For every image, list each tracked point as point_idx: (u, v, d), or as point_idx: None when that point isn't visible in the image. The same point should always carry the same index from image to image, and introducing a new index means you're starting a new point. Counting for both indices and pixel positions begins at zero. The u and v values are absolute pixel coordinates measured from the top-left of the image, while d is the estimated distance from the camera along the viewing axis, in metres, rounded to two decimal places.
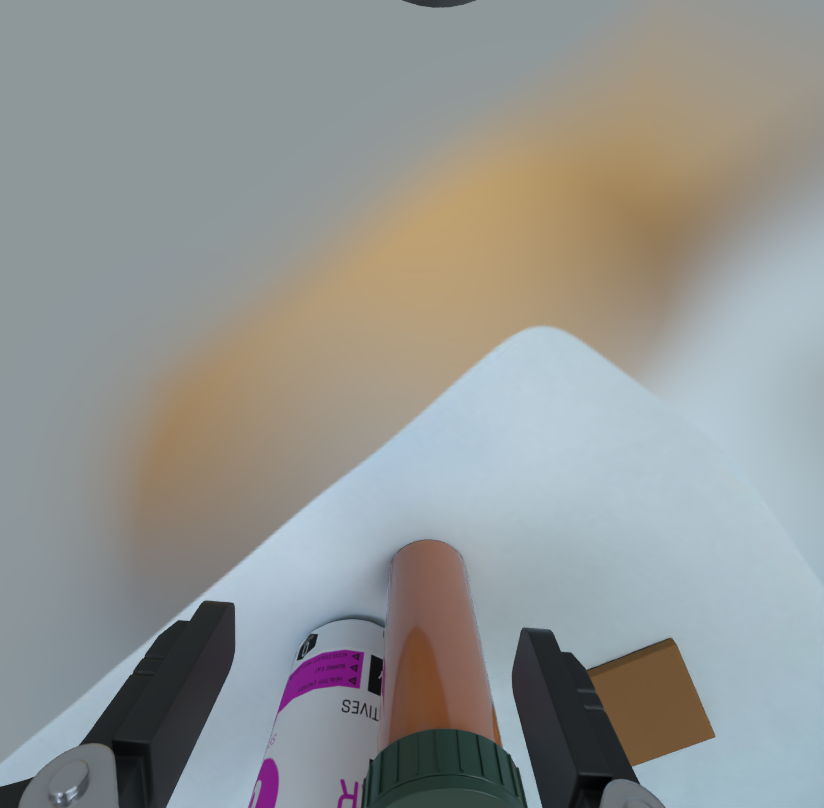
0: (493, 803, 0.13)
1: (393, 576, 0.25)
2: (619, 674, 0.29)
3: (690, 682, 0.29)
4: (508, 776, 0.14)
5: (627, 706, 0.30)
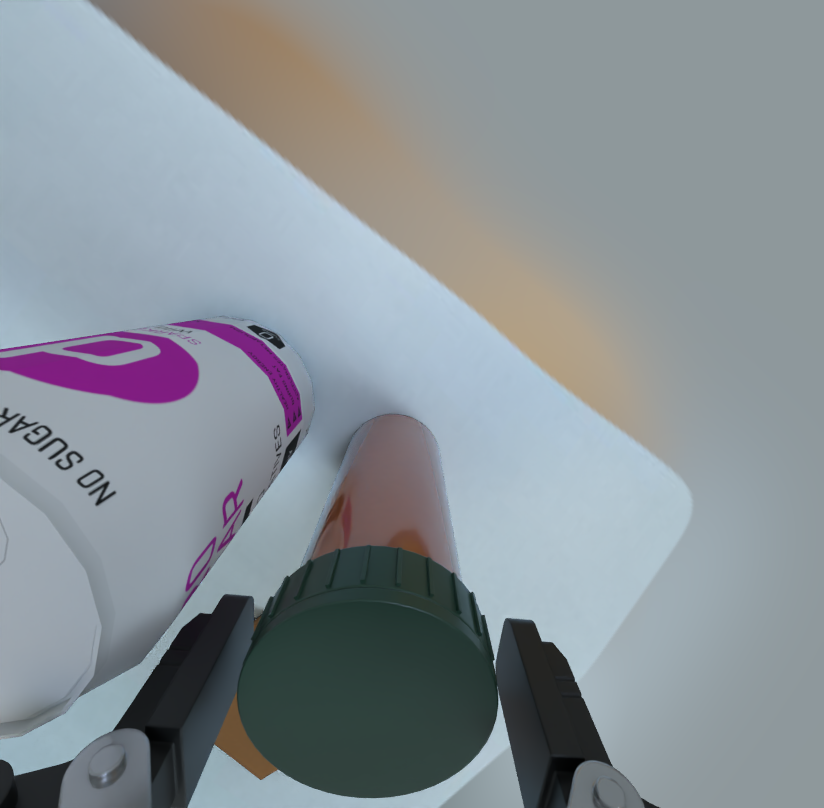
0: (476, 740, 0.10)
1: (409, 428, 0.20)
2: None
3: None
4: None
5: None
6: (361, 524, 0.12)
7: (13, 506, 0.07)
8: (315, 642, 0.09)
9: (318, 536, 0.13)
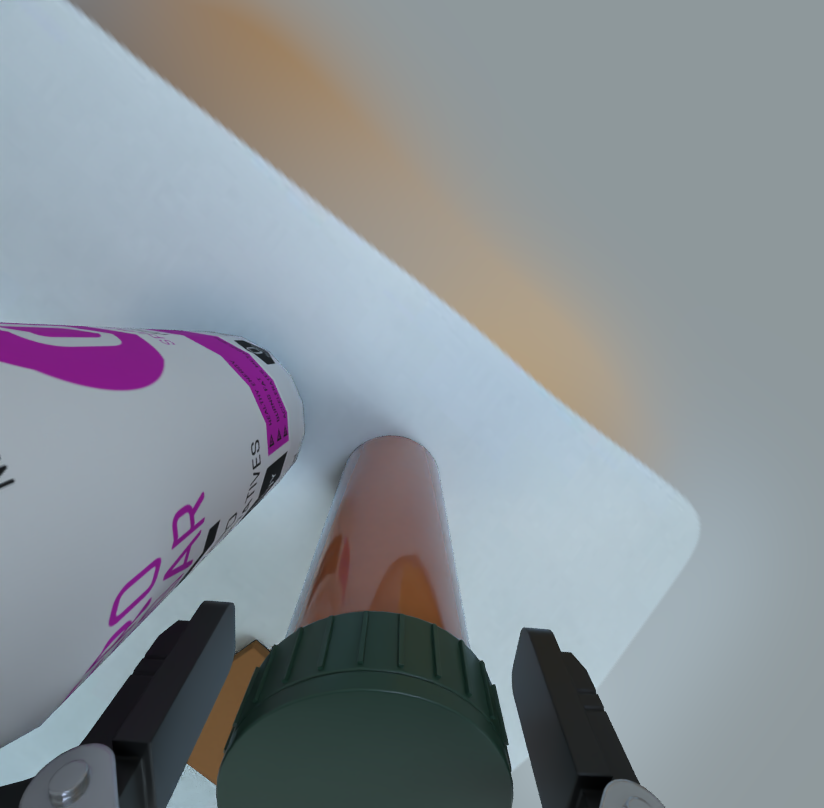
0: (416, 708, 0.07)
1: (407, 453, 0.19)
2: None
3: None
4: (456, 669, 0.09)
5: None
6: (358, 575, 0.11)
7: None
8: None
9: (311, 585, 0.12)
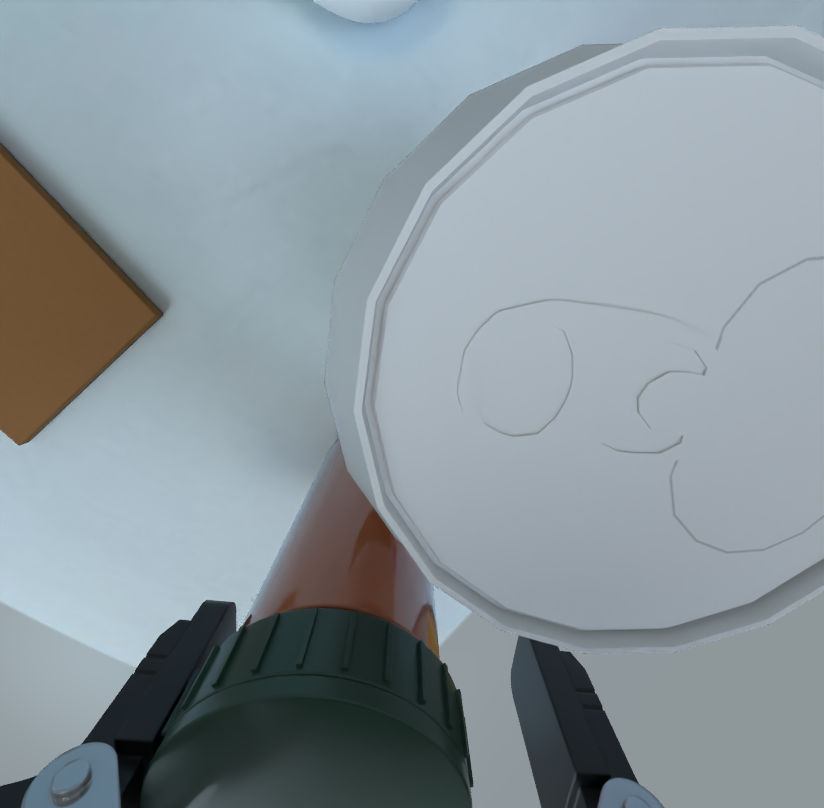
0: (359, 717, 0.07)
1: None
2: (65, 379, 0.19)
3: None
4: (411, 672, 0.08)
5: (15, 318, 0.18)
6: (434, 624, 0.11)
7: (771, 569, 0.05)
8: None
9: (399, 569, 0.11)
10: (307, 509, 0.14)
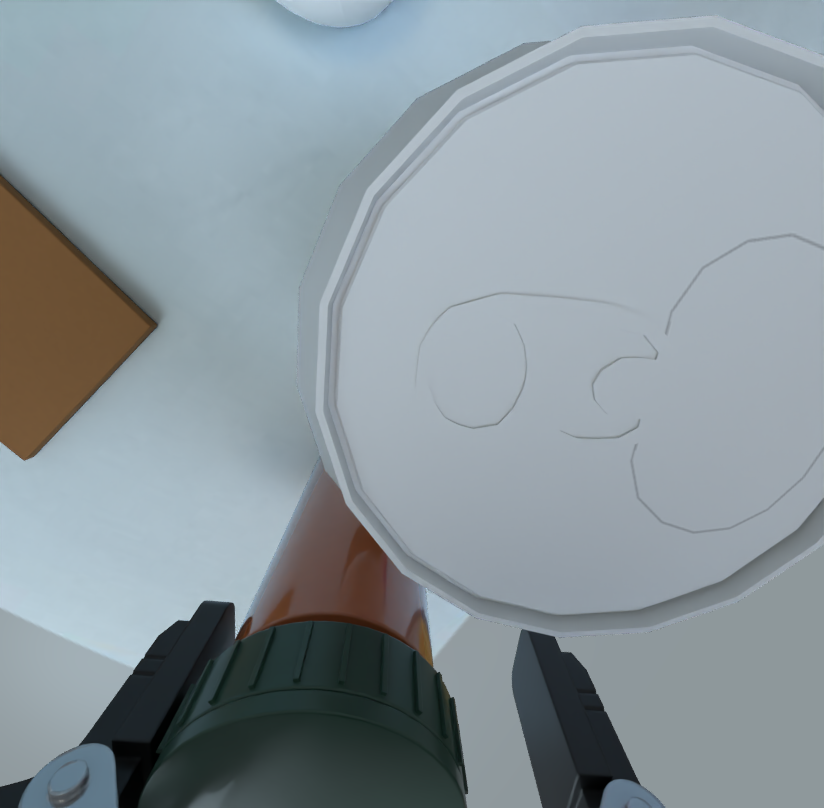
0: (153, 802, 0.07)
1: None
2: (66, 393, 0.19)
3: None
4: (194, 703, 0.08)
5: (14, 336, 0.19)
6: (424, 621, 0.11)
7: (738, 547, 0.05)
8: None
9: (384, 570, 0.11)
10: (294, 521, 0.14)
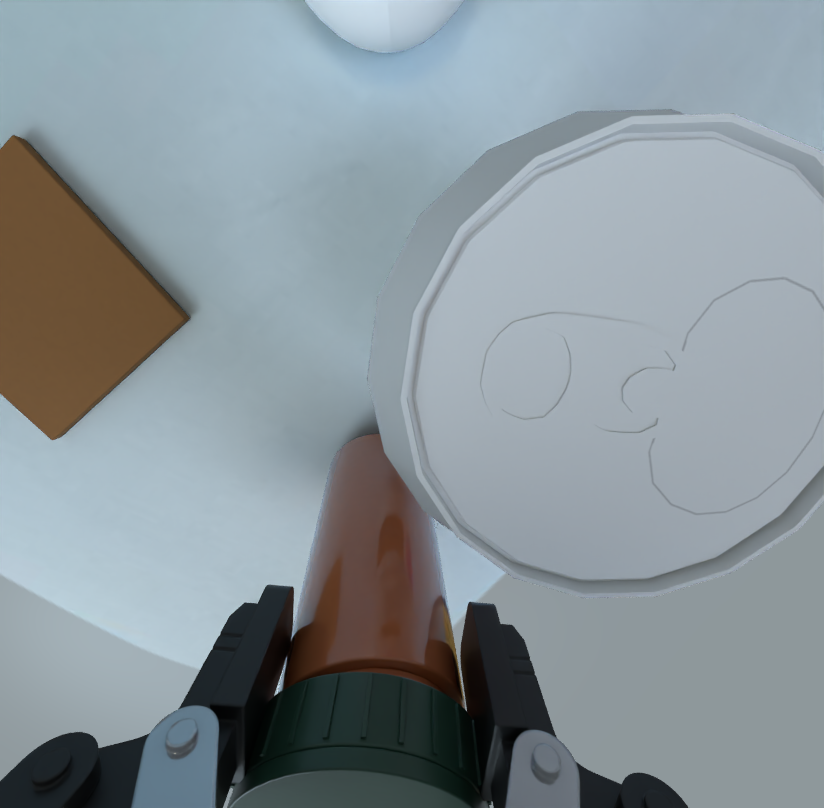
0: None
1: None
2: (98, 378, 0.20)
3: None
4: None
5: (53, 321, 0.20)
6: (453, 649, 0.12)
7: (733, 528, 0.07)
8: None
9: (421, 605, 0.12)
10: (326, 539, 0.15)
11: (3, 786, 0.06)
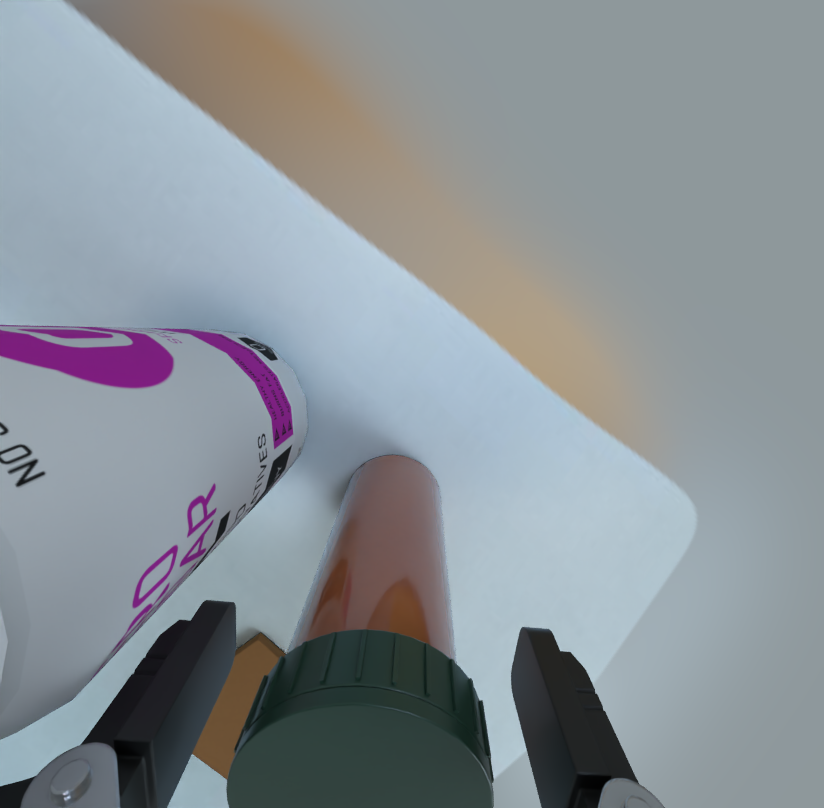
0: None
1: (399, 471, 0.20)
2: None
3: None
4: None
5: None
6: (338, 607, 0.12)
7: None
8: (307, 741, 0.08)
9: (301, 619, 0.12)
10: None
11: None
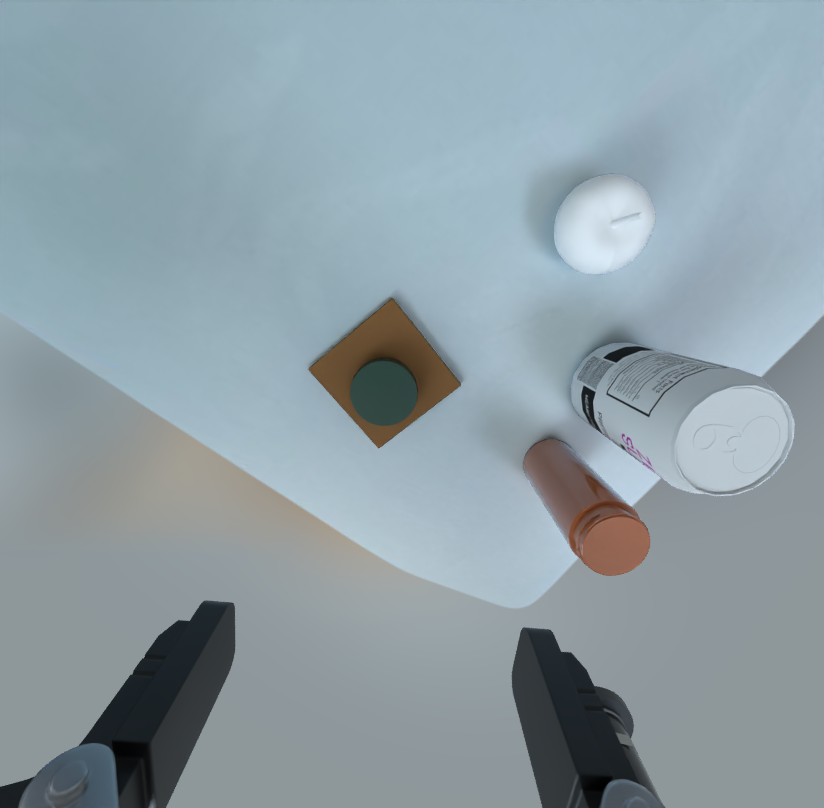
0: (412, 404, 0.36)
1: None
2: (410, 415, 0.38)
3: (353, 418, 0.38)
4: None
5: None
6: None
7: (754, 476, 0.25)
8: (370, 373, 0.35)
9: (615, 492, 0.30)
10: (557, 478, 0.33)
11: None
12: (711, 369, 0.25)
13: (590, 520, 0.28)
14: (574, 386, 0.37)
